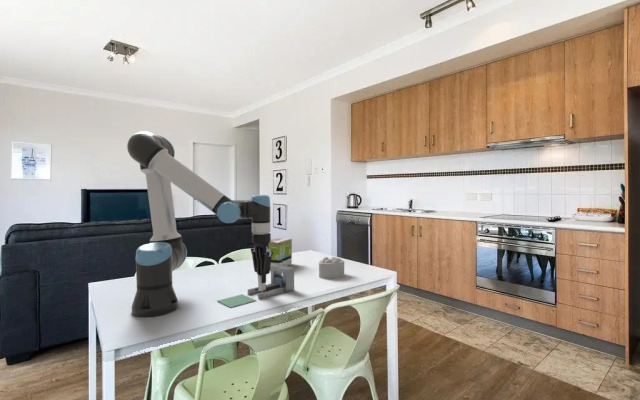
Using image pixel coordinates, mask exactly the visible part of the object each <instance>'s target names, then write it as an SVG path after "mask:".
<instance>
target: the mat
mask: <svg viewBox="0 0 640 400" xmlns="http://www.w3.org/2000/svg"><path fill="white" fill-rule="evenodd" d="M254 302H257V300H256V299H254V298H252V297H250V296H247V295H245V294H238V295H234V296H229V297H226V298H222V299H218V300H217V303H220V304H222V305H224V306H226V307H228V308H230V309H232V308H236V307H238V306H239V307H240V306H243V305H246V304H250V303H254Z"/></svg>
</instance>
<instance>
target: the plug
mask: <svg viewBox="0 0 640 400" xmlns="http://www.w3.org/2000/svg"><path fill="white" fill-rule="evenodd" d="M281 287H283V275H282V276H279V277H275V278H274V283H272V284H271V283H269V284H266V290H264V291H262V292H266V291H270V290H273V289H277V288H281Z"/></svg>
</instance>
